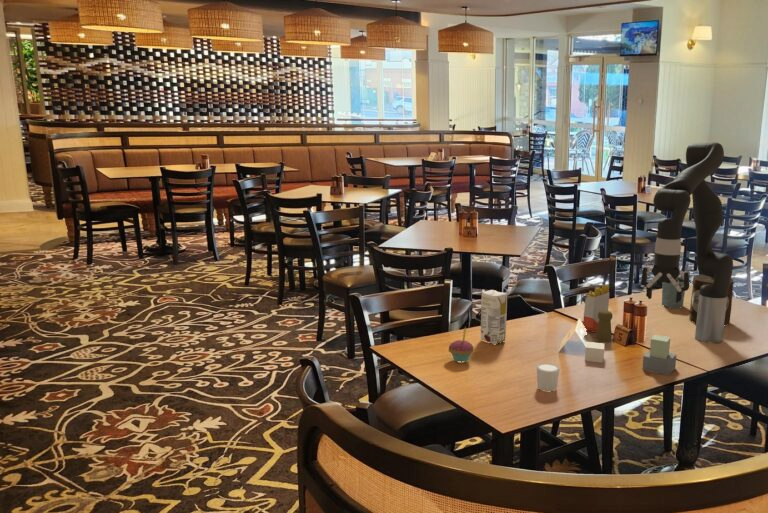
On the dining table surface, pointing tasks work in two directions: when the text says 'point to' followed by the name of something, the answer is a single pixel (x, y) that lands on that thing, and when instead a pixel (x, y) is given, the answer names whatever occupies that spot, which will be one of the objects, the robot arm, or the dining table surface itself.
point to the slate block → (659, 364)
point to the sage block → (660, 346)
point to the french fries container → (595, 307)
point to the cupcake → (461, 349)
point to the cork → (604, 326)
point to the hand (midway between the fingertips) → (663, 300)
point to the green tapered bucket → (671, 294)
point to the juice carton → (493, 316)
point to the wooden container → (697, 283)
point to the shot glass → (547, 376)
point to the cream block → (594, 352)
